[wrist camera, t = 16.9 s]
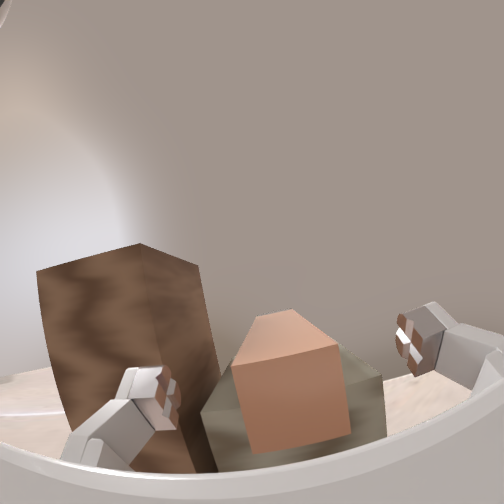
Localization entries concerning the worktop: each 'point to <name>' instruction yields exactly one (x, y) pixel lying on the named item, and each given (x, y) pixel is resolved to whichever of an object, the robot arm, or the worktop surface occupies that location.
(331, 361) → the peach rectangular bar
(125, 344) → the stand
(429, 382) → the worktop surface
